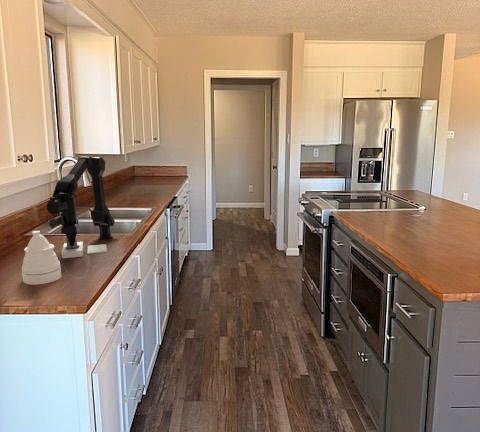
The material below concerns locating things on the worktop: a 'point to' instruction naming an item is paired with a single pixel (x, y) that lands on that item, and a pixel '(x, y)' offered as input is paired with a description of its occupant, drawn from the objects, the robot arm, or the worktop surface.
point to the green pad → (96, 249)
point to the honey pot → (40, 261)
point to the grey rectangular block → (73, 245)
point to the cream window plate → (72, 251)
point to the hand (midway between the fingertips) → (72, 244)
